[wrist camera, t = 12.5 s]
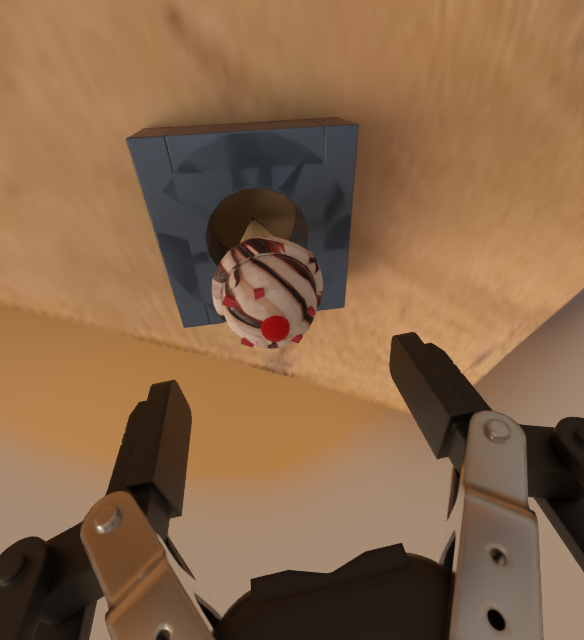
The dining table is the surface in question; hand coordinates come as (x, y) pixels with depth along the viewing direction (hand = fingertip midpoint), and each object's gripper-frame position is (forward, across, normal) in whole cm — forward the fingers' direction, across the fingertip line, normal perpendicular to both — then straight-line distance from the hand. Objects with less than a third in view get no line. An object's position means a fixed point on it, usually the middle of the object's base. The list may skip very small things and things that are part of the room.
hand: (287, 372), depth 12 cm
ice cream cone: (+17, 0, 0) cm, 17 cm away
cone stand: (+17, 0, 0) cm, 17 cm away
